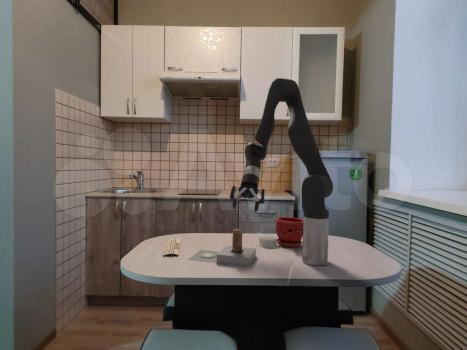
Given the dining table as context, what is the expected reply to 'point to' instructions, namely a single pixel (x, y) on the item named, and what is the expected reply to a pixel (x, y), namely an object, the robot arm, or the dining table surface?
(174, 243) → the newspaper
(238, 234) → the walnut plug
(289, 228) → the plant pot
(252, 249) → the socket board
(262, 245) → the mechanical component
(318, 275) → the dining table surface
